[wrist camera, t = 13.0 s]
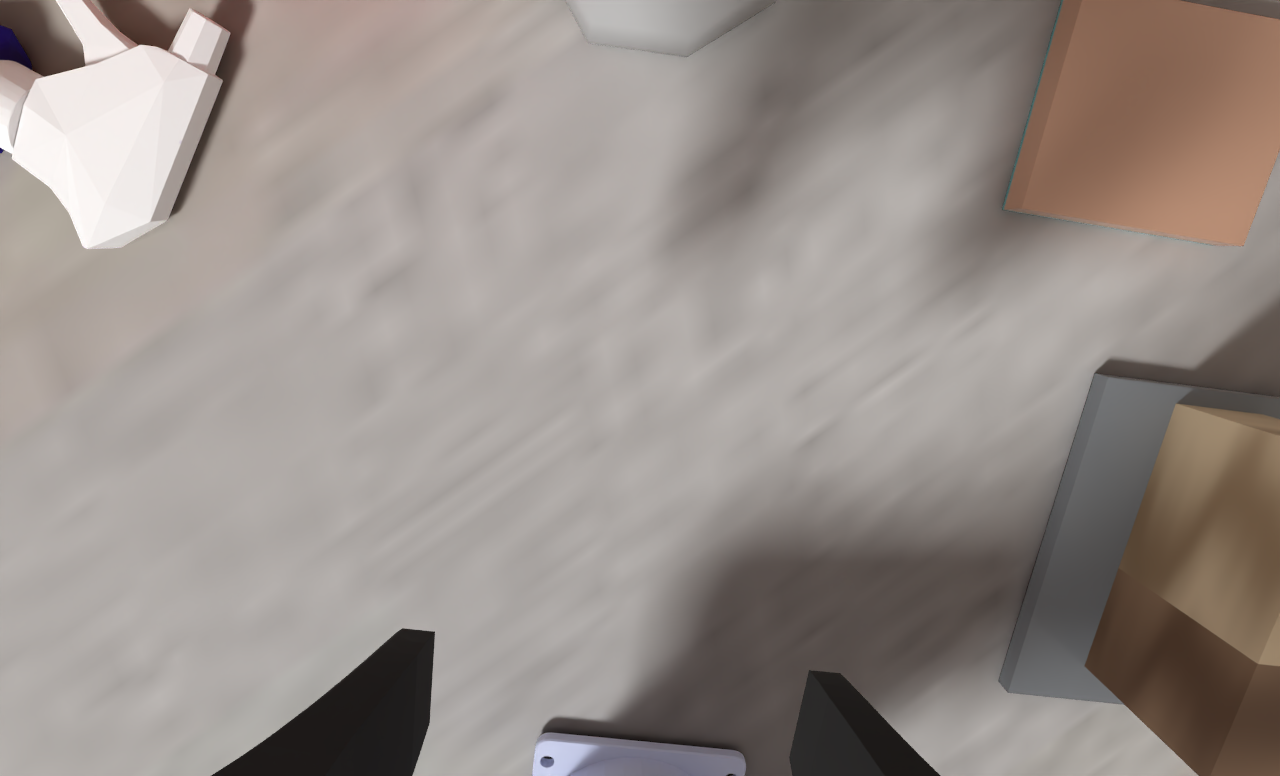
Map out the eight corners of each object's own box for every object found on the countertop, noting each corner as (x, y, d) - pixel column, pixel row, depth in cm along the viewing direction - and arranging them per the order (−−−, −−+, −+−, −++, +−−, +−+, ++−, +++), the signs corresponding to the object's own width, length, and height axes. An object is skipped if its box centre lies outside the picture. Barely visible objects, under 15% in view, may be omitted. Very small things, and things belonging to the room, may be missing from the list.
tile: (1243, 246, 19) (1325, 28, 17) (1021, 208, 18) (1087, -18, 17) (1199, 245, 20) (1272, 44, 19) (992, 210, 20) (1051, 2, 19)
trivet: (1199, 702, 24) (1214, 713, 23) (998, 681, 24) (1007, 692, 23) (1322, 402, 21) (1341, 407, 21) (1094, 373, 21) (1108, 377, 20)
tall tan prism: (1163, 674, 23) (1305, 793, 18) (1084, 666, 23) (1207, 783, 18) (1262, 414, 21) (1458, 470, 16) (1175, 403, 20) (1345, 457, 16)
